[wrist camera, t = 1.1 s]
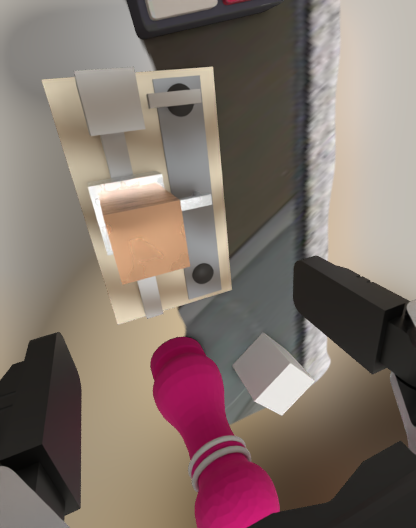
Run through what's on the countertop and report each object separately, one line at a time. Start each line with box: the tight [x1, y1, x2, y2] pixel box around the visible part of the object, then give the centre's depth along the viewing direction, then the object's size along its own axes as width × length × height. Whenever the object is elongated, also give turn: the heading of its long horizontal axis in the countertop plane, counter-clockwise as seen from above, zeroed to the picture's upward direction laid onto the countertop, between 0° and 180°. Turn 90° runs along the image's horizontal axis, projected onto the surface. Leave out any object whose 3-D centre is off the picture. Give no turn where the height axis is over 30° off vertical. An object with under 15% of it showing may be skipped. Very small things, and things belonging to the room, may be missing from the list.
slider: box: [87, 171, 212, 285], centre depth 20 cm, size 5×8×8 cm, turn 96°
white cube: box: [232, 332, 315, 415], centre depth 37 cm, size 6×6×6 cm
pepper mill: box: [150, 337, 280, 528], centre depth 26 cm, size 7×7×20 cm
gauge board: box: [42, 67, 232, 325], centre depth 23 cm, size 20×12×8 cm, turn 6°
